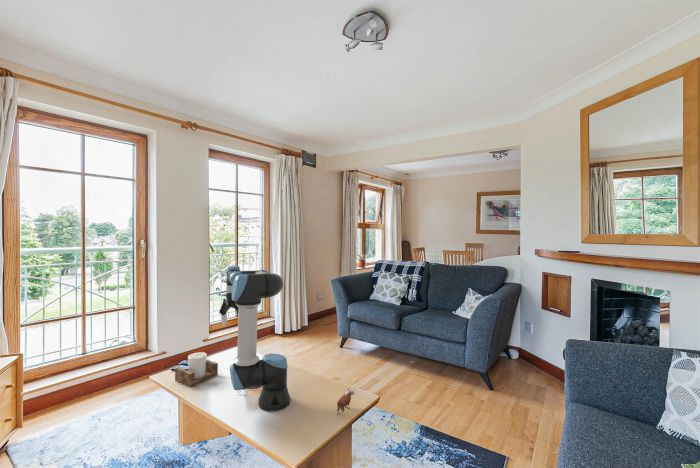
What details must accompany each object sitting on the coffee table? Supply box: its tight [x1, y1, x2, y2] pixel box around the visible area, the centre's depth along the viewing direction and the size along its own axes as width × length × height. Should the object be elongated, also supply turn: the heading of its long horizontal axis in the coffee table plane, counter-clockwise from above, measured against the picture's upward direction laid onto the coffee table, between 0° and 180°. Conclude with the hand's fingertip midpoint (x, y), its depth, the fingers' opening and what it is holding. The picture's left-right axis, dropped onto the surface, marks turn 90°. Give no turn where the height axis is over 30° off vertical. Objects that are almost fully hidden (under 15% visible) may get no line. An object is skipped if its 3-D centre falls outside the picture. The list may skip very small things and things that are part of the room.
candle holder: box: [187, 351, 208, 380], centre depth 182 cm, size 10×10×12 cm
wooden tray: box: [174, 359, 219, 388], centre depth 182 cm, size 14×17×7 cm
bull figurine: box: [336, 388, 356, 414], centre depth 153 cm, size 4×13×8 cm, turn 149°
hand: (232, 327), depth 192 cm, fingers open, 13 cm apart
